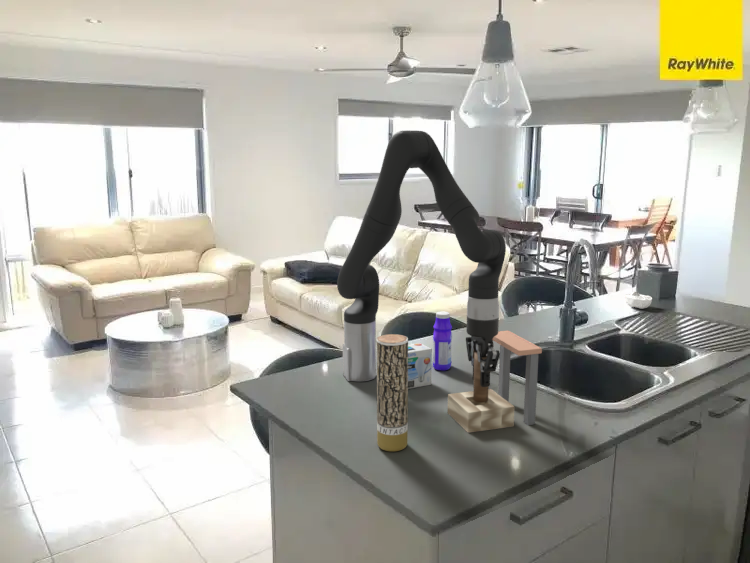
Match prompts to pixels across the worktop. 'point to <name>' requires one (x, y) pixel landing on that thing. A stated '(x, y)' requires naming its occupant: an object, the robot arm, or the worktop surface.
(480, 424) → the socket
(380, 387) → the paper tube
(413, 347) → the light bulb box
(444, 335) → the bottle
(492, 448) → the worktop surface
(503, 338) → the wooden top bench
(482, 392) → the peg
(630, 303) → the cell model
